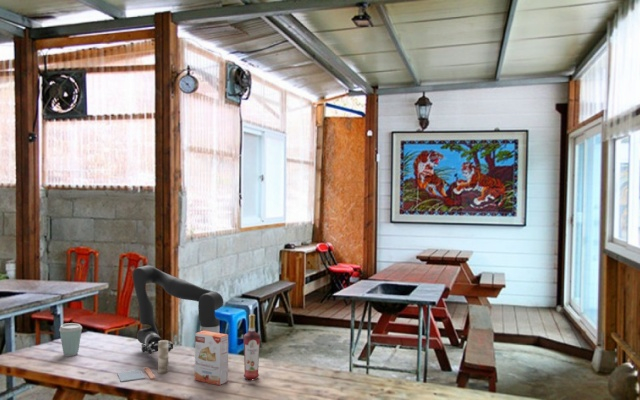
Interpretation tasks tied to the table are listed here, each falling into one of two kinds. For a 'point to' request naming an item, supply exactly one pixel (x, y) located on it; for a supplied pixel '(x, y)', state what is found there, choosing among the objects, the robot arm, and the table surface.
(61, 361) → the table surface
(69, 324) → the disposable coffee cup
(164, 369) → the beige tall cylinder
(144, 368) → the orange long flat bar
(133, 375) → the mat
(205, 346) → the cracker box
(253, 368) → the liquor
